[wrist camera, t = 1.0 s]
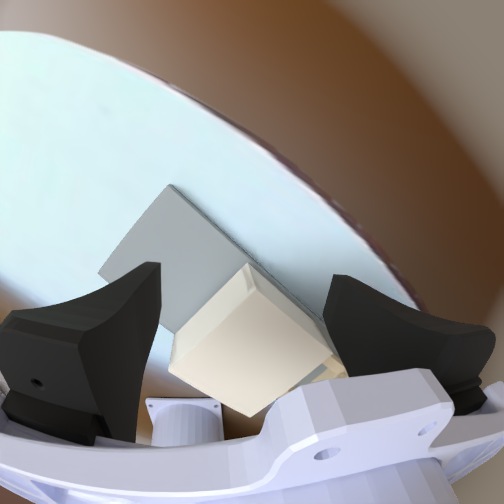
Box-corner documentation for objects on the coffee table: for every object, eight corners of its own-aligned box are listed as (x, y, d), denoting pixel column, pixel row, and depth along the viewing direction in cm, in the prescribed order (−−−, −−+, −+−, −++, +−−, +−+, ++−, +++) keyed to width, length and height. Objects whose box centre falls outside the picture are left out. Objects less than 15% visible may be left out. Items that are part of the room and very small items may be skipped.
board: (373, 367, 29) (383, 381, 27) (314, 414, 31) (320, 430, 28) (169, 183, 21) (164, 187, 18) (102, 267, 22) (90, 280, 19)
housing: (314, 321, 24) (333, 353, 20) (243, 381, 25) (250, 417, 21) (247, 262, 22) (255, 289, 17) (174, 334, 23) (168, 371, 19)
